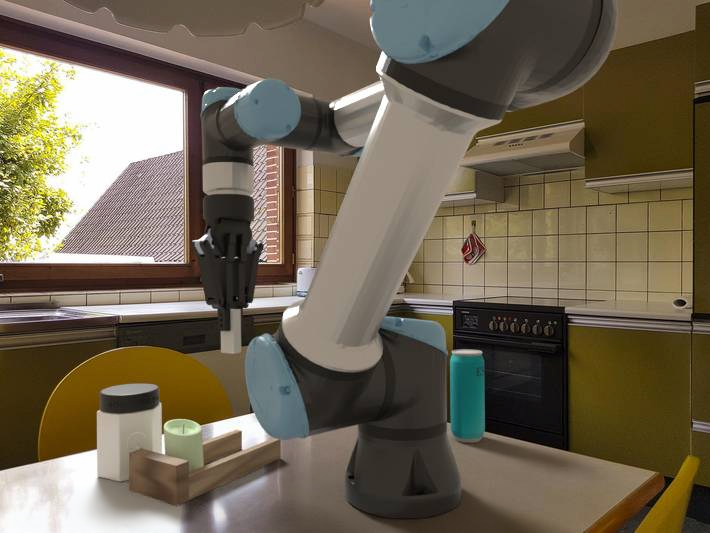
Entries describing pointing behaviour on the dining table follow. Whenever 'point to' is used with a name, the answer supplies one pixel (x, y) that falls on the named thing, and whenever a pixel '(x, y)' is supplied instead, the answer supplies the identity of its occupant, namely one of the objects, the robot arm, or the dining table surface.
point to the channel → (179, 485)
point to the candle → (184, 441)
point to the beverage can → (467, 395)
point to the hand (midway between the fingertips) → (231, 352)
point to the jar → (127, 427)
